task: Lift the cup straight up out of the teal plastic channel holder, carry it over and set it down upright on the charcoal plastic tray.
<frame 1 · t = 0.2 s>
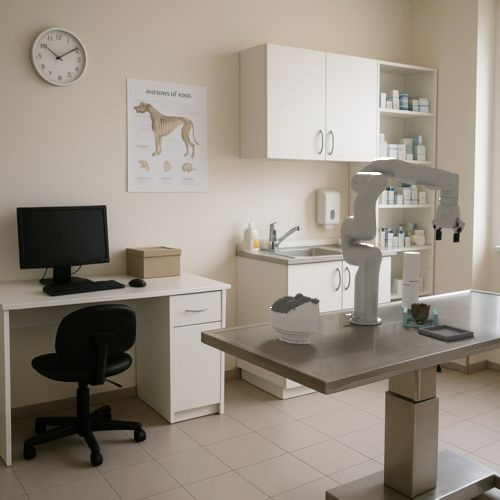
hand: (447, 241, 265), 31 cm above the table, tool pointing down, fingers open, 9 cm apart
tray: (445, 334, 228), on the table
holder: (419, 324, 244), on the table
white bowl with contents: (295, 341, 218), on the table
cup: (419, 324, 244), on the table
cylindrical container: (409, 308, 275), on the table
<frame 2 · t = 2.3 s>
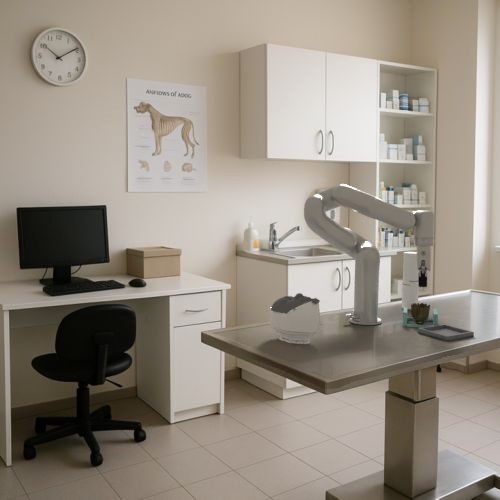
hand: (422, 284, 242), 16 cm above the table, tool pointing down, fingers open, 9 cm apart
nothing on the table moved.
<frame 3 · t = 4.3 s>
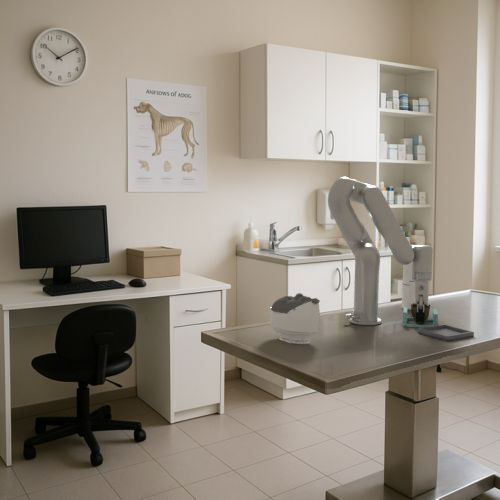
hand: (420, 319, 244), 2 cm above the table, tool pointing down, fingers closed on cup, 7 cm apart
cup: (419, 324, 244), on the table, touching gripper
everything else where it was.
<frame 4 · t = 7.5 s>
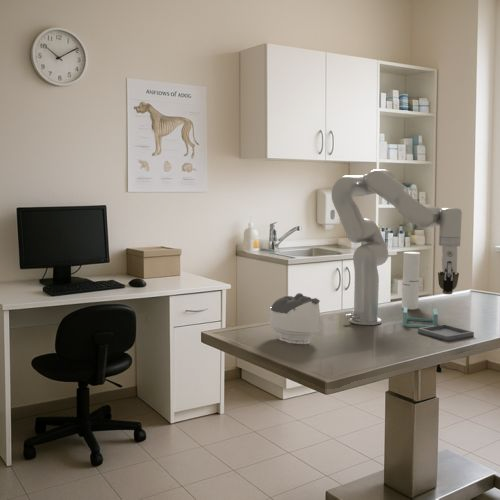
hand: (447, 289, 226), 17 cm above the table, tool pointing down, fingers closed on cup, 7 cm apart
cup: (447, 294, 226), point 15 cm above the table, touching gripper
everything else where it was.
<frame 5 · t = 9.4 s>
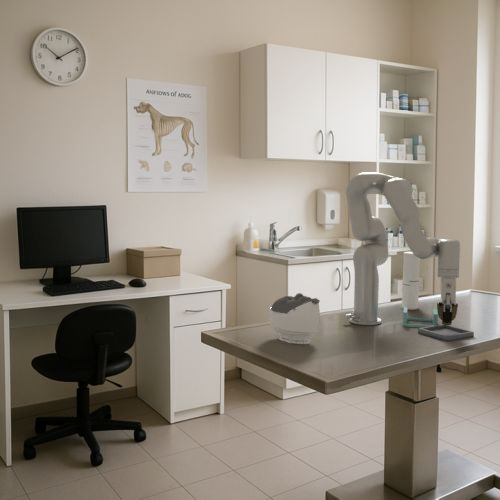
hand: (446, 319, 227), 6 cm above the table, tool pointing down, fingers closed on cup, 7 cm apart
cup: (446, 325, 227), point 4 cm above the table, touching gripper
everything else where it was.
when the fingers open (4 cm above the table, at t = 10.9 s): cup drops 1 cm, resting on tray.
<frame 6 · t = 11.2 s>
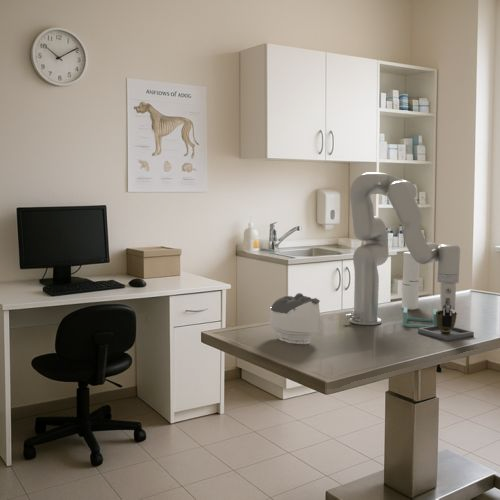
hand: (446, 323, 227), 4 cm above the table, tool pointing down, fingers open, 9 cm apart
cup: (445, 333, 228), resting on tray
everything else where it was.
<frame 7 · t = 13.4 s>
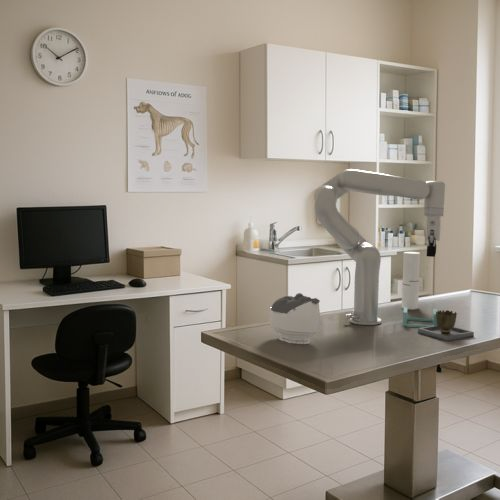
hand: (431, 255, 244), 27 cm above the table, tool pointing down, fingers open, 9 cm apart
nothing on the table moved.
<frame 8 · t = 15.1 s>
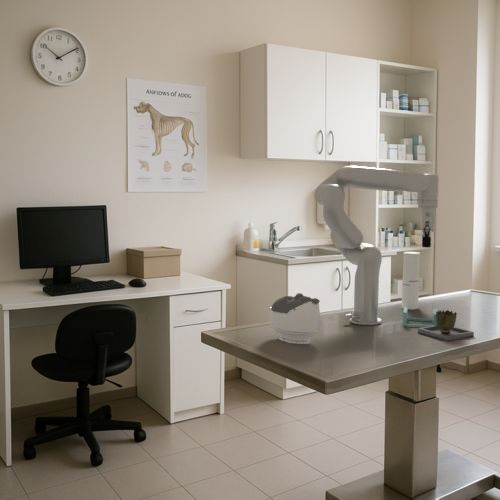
hand: (426, 245, 251), 30 cm above the table, tool pointing down, fingers open, 9 cm apart
nothing on the table moved.
at the end: cup inside the target area on the tray (0.2 cm from its centre), point 0.4 cm above the tray's base; cup tilted 0°; the gripper is holding nothing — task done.
